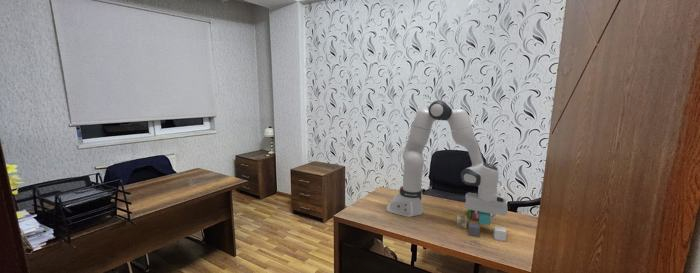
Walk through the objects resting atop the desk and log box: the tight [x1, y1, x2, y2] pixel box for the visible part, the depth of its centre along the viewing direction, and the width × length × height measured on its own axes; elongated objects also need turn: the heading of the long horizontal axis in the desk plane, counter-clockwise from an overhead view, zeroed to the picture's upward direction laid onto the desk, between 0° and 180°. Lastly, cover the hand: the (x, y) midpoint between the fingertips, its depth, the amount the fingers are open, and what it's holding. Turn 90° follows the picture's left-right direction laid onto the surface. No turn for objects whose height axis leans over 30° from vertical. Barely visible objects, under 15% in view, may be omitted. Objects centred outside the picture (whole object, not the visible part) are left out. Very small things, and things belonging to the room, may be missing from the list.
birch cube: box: [456, 214, 468, 230], centre depth 157 cm, size 5×5×5 cm
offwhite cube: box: [493, 225, 507, 242], centre depth 144 cm, size 5×5×5 cm
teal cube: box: [478, 212, 492, 226], centre depth 152 cm, size 5×5×5 cm
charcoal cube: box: [468, 222, 481, 238], centre depth 149 cm, size 5×5×5 cm
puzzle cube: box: [467, 209, 480, 221], centre depth 168 cm, size 10×10×10 cm
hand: (484, 219), depth 152 cm, fingers closed on teal cube, 5 cm apart
